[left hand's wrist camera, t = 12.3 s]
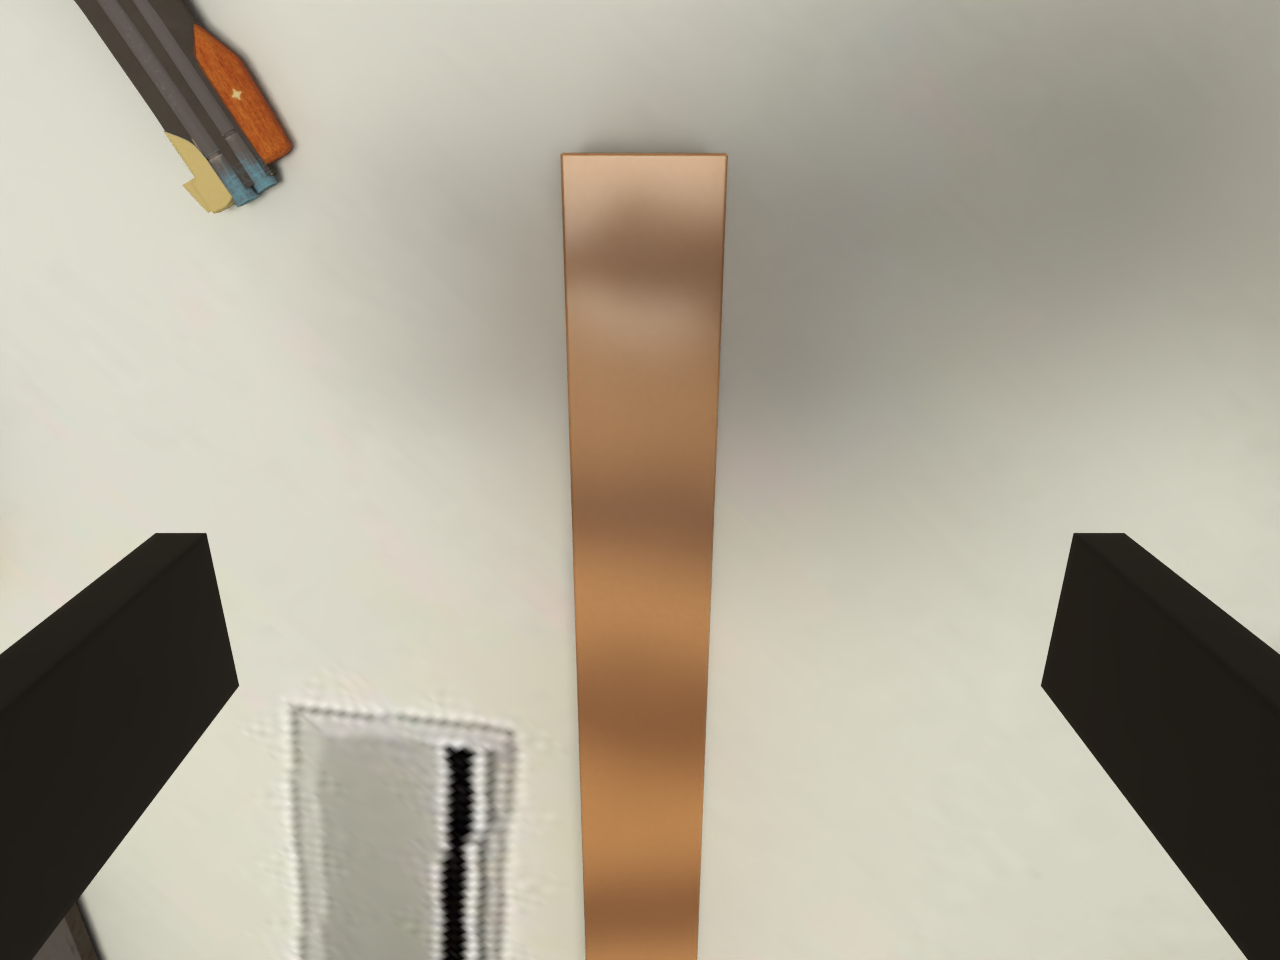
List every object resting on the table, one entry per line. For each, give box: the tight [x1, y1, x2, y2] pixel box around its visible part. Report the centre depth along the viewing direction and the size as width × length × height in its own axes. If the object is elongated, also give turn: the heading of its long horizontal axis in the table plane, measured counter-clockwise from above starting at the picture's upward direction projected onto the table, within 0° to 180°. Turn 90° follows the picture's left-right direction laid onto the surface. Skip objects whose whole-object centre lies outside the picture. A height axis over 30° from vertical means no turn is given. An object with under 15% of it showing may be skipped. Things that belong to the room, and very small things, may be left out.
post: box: [561, 153, 728, 960], centre depth 42 cm, size 65×5×7 cm, turn 0°
